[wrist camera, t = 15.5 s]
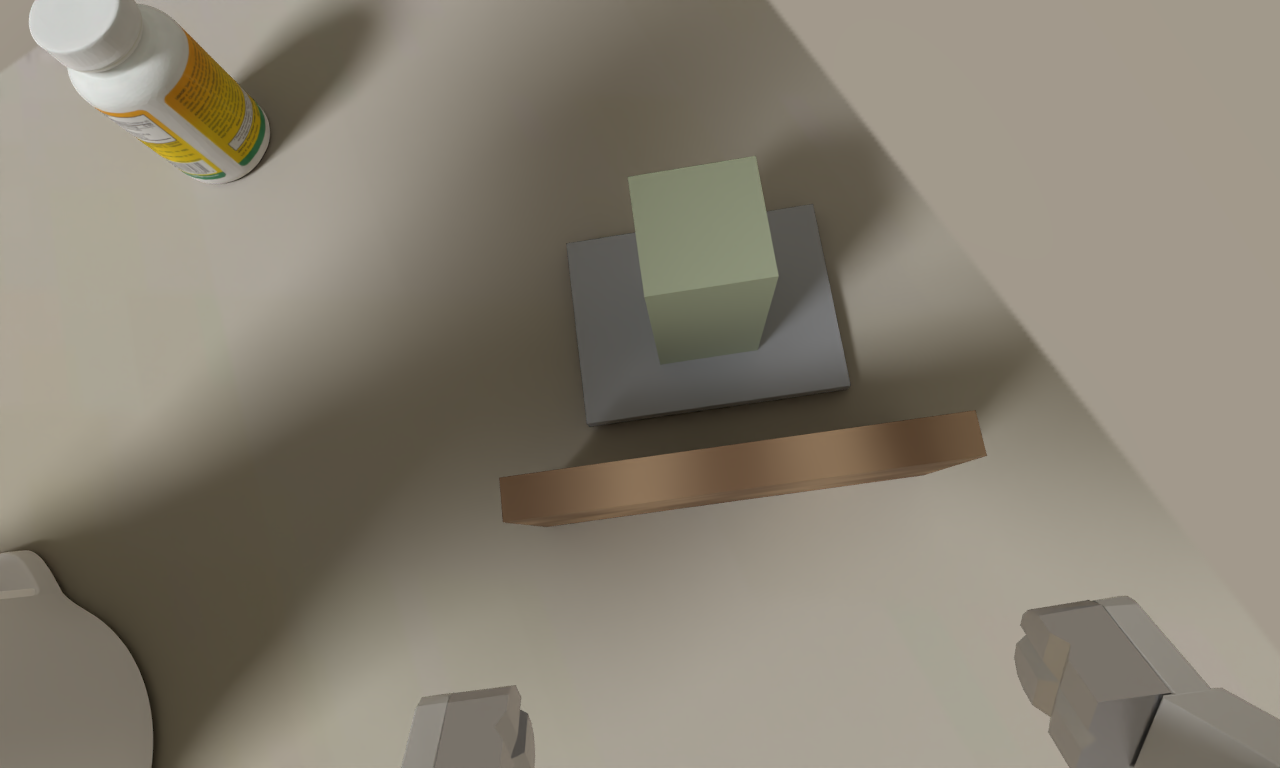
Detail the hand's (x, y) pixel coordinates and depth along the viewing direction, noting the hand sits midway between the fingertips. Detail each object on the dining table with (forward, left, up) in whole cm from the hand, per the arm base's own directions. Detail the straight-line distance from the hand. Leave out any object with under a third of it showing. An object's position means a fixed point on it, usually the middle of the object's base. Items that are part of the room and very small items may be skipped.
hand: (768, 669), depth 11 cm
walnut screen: (+1, +5, -20) cm, 20 cm away
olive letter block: (+1, +13, -19) cm, 23 cm away
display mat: (+1, +13, -20) cm, 23 cm away
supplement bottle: (-23, +27, -20) cm, 40 cm away
